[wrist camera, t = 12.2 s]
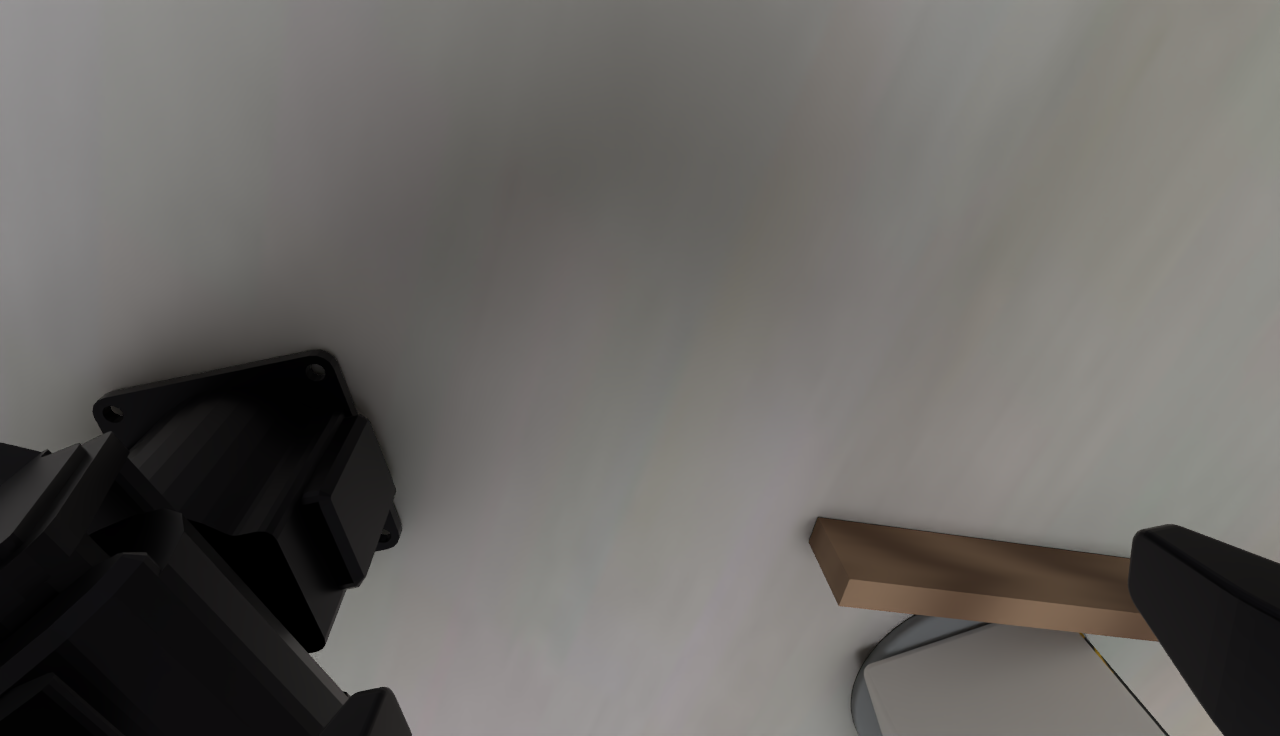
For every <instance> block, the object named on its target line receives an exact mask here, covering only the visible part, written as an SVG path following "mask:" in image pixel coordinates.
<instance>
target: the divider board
mask: <svg viewBox="0 0 1280 736" xmlns="http://www.w3.org/2000/svg"><path fill="white" fill-rule="evenodd" d="M809 544H810V546H811V548H812V550H813V552H814V554H815V557H816V559H817V561H818V563H819V565H820V567H821V569H822V571H823V574H824V576H825V578H826V580H827V582H828V584H829V586H830V588H831V590H832V593H833V595H834V597H835V599H836V601H837V603H838V605H839V606H844V607H853V608H862V609H871V610H880V611H889V612H898V613H907V614H916V615H925V616H934V617H943V618H952V619H961V620H970V621H979V622H988V623H997V624H1006V625H1015V626H1024V627H1032V628H1041V629H1050V630H1059V631H1068V632H1077V633H1086V634H1095V635H1104V636H1113V637H1122V638H1131V639H1140V640H1149V641H1158V639H1157V638H1156V636H1155V635H1154V633H1153V632H1152V630H1151V629H1150V627H1149V626H1148V624H1147V623H1146V621H1145V620H1144V618H1143V617H1142V615H1141V614H1140V612H1139V611H1138V609H1137V608H1136V606H1135V605H1134V603H1133V601H1132V599H1131V597H1130V594H1129V590H1128V574H1129V566H1130V559H1128V558H1121V557H1113V556H1106V555H1098V554H1091V553H1083V552H1076V551H1068V550H1061V549H1053V548H1045V547H1038V546H1030V545H1023V544H1015V543H1008V542H1000V541H993V540H985V539H977V538H970V537H962V536H955V535H947V534H940V533H932V532H925V531H917V530H910V529H902V528H894V527H887V526H879V525H872V524H864V523H857V522H849V521H842V520H834V519H827V518H819V517H818V519H817V521H816V524H815V527H814V529H813V532H812V535H811V537H810V540H809ZM1158 642H1159V641H1158Z"/></svg>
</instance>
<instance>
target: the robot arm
mask: <svg viewBox="0 0 1280 736" xmlns="http://www.w3.org/2000/svg"><path fill="white" fill-rule="evenodd" d="M311 364H318V365H320V366H322V367H323V369H324V370H325V374H324V375H318V374H316V373H314V372H313V371H312V370H311V368H310V365H311ZM111 406H115V407H117V408H119V409H120V410H121V411H122V412H123V416H120V415H118V414H116V413H114V412H113V410H112V409H111ZM92 412H93V415H94V418H95V420H96V422H97V423H98V425H99V427H100V429H101V430H102V432H103V435H100V436H98V437H96V438H94V439H92V440H90V441H88V442H86V443H84V444H82V445H81V444H80V443H78V444H75V445H72V446H70V447H67V448H65V449H62V450H60V451H57V452H54V453H51V452H50V451H49V450H48V449H47V450H45V451H43V452H39V451H35V450H30V449H26V448H22V447H18V446H13V445H9V444H5V443H0V736H412V733H411V731H410V728H409V726H408V724H407V722H406V719H405V717H404V715H403V713H402V710H401V708H400V706H399V704H398V701H397V699H396V697H395V695H394V693H393V692H392V690H391V689H389V688H388V687H380V688H375V689H370V690H365V691H360V692H357V693H355V694H353V695H352V696H351V697H350V695H349V694H348V693H347V692H343V691H342V690H341V689H340V688H339V687H338V686H337V685H336V683H335V682H334V681H333V680H332V679H331V678H330V677H329V676H328V675H327V673H326V672H325V671H324V670H323V669H322V668H321V667H320V666H319V665H318V664H317V662H316V661H315V660H314V659H313V658H312V657H311V656H310V655H309V654H308V653H313V652H317V651H319V650H321V649H323V647H324V646H325V644H326V642H327V639H328V637H329V634H330V631H331V629H332V626H333V623H334V621H335V618H336V615H337V613H338V610H339V608H340V605H341V602H342V600H343V597H344V594H345V592H346V589H351V588H356V587H359V586H360V585H361V583H362V582H363V580H364V579H365V577H366V575H367V572H368V569H369V567H370V564H371V561H372V558H373V555H374V552H375V551H380V550H385V549H389V548H391V547H394V546H395V545H396V544H397V543H398V540H399V538H400V534H401V531H402V526H401V522H400V520H399V517H398V515H397V512H396V510H395V507H394V505H393V499H394V496H395V493H396V488H395V485H394V483H393V480H392V478H391V475H390V472H389V470H388V467H387V465H386V462H385V459H384V457H383V454H382V452H381V449H380V446H379V444H378V441H377V439H376V436H375V434H374V431H373V428H372V426H371V423H370V421H369V420H368V419H366V418H365V417H363V416H362V415H361V414H358V413H357V410H356V408H355V405H354V402H353V400H352V397H351V395H350V392H349V390H348V387H347V385H346V382H345V380H344V377H343V374H342V372H341V369H340V367H339V364H338V362H337V361H336V359H335V357H334V356H332V355H331V354H330V353H328V352H326V351H323V350H310V351H306V352H301V353H296V354H291V355H286V356H281V357H276V358H272V359H267V360H262V361H257V362H252V363H247V364H242V365H238V366H233V367H228V368H223V369H218V370H213V371H208V372H204V373H199V374H194V375H189V376H184V377H179V378H174V379H169V380H165V381H160V382H155V383H150V384H145V385H140V386H135V387H131V388H126V389H121V390H116V391H112V392H109V393H107V394H105V395H104V396H103V397H101V398H100V399H99V400H98V401H97V402H96V403H95V404H94V406H93V411H92ZM383 529H385V530H388V531H389V532H390V534H381V533H382V530H383ZM1128 590H1129V594H1130V597H1131V599H1132V601H1133V603H1134V605H1135V606H1136V608H1137V609H1138V611H1139V612H1140V614H1141V615H1142V617H1143V618H1144V620H1145V621H1146V623H1147V624H1148V626H1149V627H1150V629H1151V630H1152V632H1153V633H1154V635H1155V636H1156V638H1157V639H1158V641H1159V642H1160V644H1161V645H1162V647H1163V648H1164V650H1165V651H1166V653H1167V654H1168V656H1169V657H1170V659H1171V660H1172V662H1173V663H1174V665H1175V666H1176V668H1177V669H1178V671H1179V672H1180V674H1181V675H1182V677H1183V678H1184V680H1185V681H1186V683H1187V684H1188V686H1189V687H1190V689H1191V690H1192V692H1193V693H1194V695H1195V696H1196V698H1197V699H1198V701H1199V702H1200V704H1201V705H1202V707H1203V708H1204V709H1205V711H1206V712H1207V714H1208V715H1209V717H1210V718H1211V719H1212V721H1213V722H1214V723H1215V725H1216V726H1217V727H1218V729H1219V730H1220V731H1221V732H1222V734H1223V735H1224V736H1280V563H1277V562H1274V561H1272V560H1269V559H1266V558H1264V557H1261V556H1258V555H1256V554H1253V553H1250V552H1248V551H1245V550H1242V549H1240V548H1237V547H1234V546H1232V545H1229V544H1226V543H1224V542H1221V541H1219V540H1216V539H1213V538H1211V537H1208V536H1205V535H1203V534H1200V533H1197V532H1195V531H1192V530H1189V529H1187V528H1184V527H1181V526H1178V525H1174V524H1166V525H1161V526H1156V527H1151V528H1147V529H1142V530H1140V531H1138V532H1137V533H1136V534H1135V536H1134V537H1133V541H1132V549H1131V558H1130V566H1129V574H1128Z"/></svg>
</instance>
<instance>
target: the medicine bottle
mask: <svg viewBox="0 0 1280 736" xmlns="http://www.w3.org/2000/svg"><path fill="white" fill-rule="evenodd" d="M864 678H865V681H866V685H867V688H868V691H869V694H870V697H871V701H872V704H873V707H874V710H875V713H876V716H877V720H878V723H879V726H880V729H881V732H882V736H1169V735H1168V733H1167V732H1166V731H1165V730H1164V729H1163V728H1162V726H1161V725H1160V724H1159V723H1158V722H1157V721H1156V719H1155V718H1154V717H1153V716H1152V715H1151V713H1150V712H1149V711H1148V710H1147V709H1146V708H1145V706H1144V705H1143V704H1142V703H1141V702H1140V701H1139V699H1138V698H1137V697H1136V696H1135V695H1134V693H1133V692H1132V691H1131V690H1130V689H1129V688H1128V686H1127V685H1126V684H1125V683H1124V682H1123V681H1122V679H1121V678H1120V677H1119V676H1118V675H1117V673H1116V672H1115V671H1114V670H1113V669H1112V668H1111V666H1110V665H1109V664H1108V663H1107V662H1106V660H1105V659H1104V658H1103V657H1102V656H1101V655H1100V653H1099V652H1098V651H1097V650H1096V649H1095V648H1094V646H1093V645H1092V644H1091V643H1090V642H1089V640H1088V639H1087V638H1086V637H1085V636H1084V635H1083V633H1077V632H1068V631H1059V630H1050V629H1041V628H1032V627H1024V626H1015V625H1006V624H997V623H991V624H988V625H985V626H982V627H979V628H976V629H973V630H970V631H967V632H964V633H961V634H958V635H955V636H952V637H949V638H946V639H943V640H940V641H937V642H934V643H931V644H928V645H925V646H922V647H919V648H916V649H913V650H910V651H907V652H904V653H901V654H898V655H895V656H892V657H889V658H886V659H883V660H880V661H877V662H874V663H871V664H869V665H867V667H866V668H865V669H864Z"/></svg>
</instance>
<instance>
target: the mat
mask: <svg viewBox="0 0 1280 736" xmlns="http://www.w3.org/2000/svg"><path fill="white" fill-rule="evenodd" d="M988 624H991V623H988V622H979V621H970V620H961V619H952V618H943V617H934V616H925V615H915V616H913V617H911V618H910V619H908V620H906V621H905V622H904V623H902V624H901V625H900V626H898V627H897V628H896V629H894V630H893V631H892V632H891V633H890V634H889V635H887V636H886V637H885V638H884V639H883V640H882V641H881V642H880V643H879V644H878V645H877V647H876V648H875V649H874V650H873V651H872V652H871V654H870V655H869V657H868V658H867V659H866V661H865V662H864V664H863V666H862V668H861V670H860V671H859V673H858V675H857V678H856V681H855V684H854V687H853V692H852V697H851V712H852V717H853V722H854V724H855V727H856V729H857V732H858V734H859V736H882V732H881V729H880V726H879V723H878V720H877V716H876V713H875V710H874V707H873V704H872V701H871V697H870V694H869V691H868V688H867V685H866V681H865V678H864V669H865V668H866V667H867V665H869V664H871V663H874V662H877V661H880V660H883V659H886V658H889V657H892V656H895V655H898V654H901V653H904V652H907V651H910V650H913V649H916V648H919V647H922V646H925V645H928V644H931V643H934V642H937V641H940V640H943V639H946V638H949V637H952V636H955V635H958V634H961V633H964V632H967V631H970V630H973V629H976V628H979V627H982V626H985V625H988ZM1083 635H1084V636H1085V637H1086V635H1085V633H1083ZM1086 638H1087V637H1086ZM1087 639H1088V638H1087ZM1089 642H1090V641H1089Z"/></svg>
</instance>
